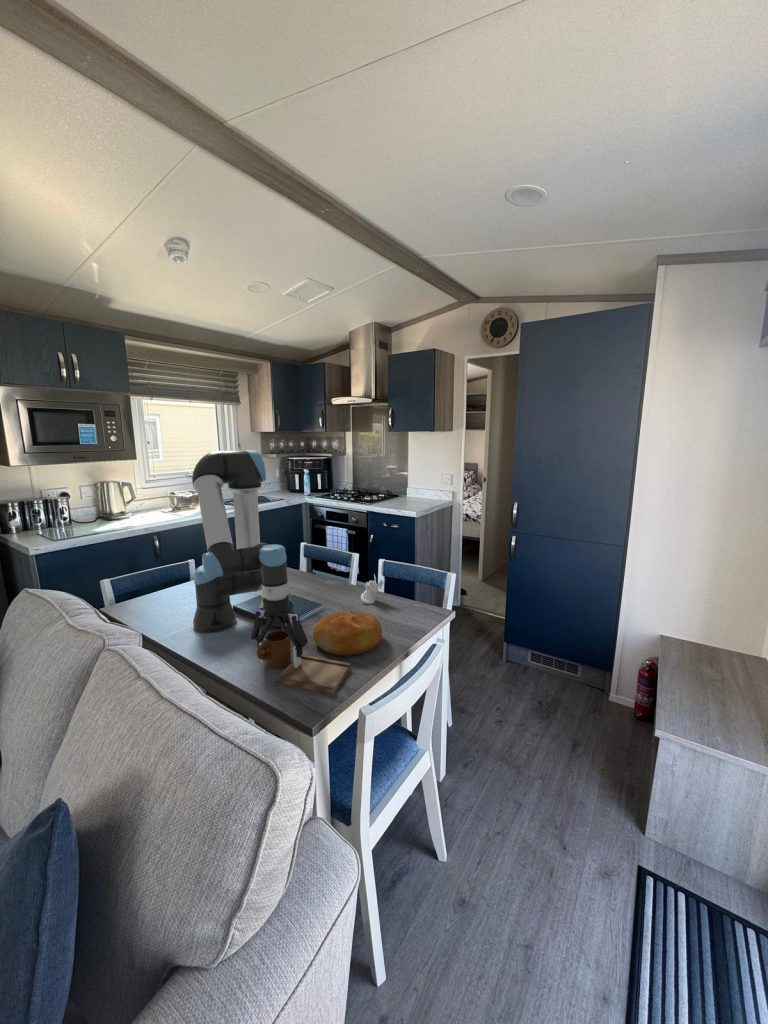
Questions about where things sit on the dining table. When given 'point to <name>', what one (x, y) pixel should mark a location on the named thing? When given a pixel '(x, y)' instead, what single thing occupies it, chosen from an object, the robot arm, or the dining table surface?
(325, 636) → the bread
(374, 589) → the figurine
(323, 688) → the board
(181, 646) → the dining table surface
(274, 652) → the mug
